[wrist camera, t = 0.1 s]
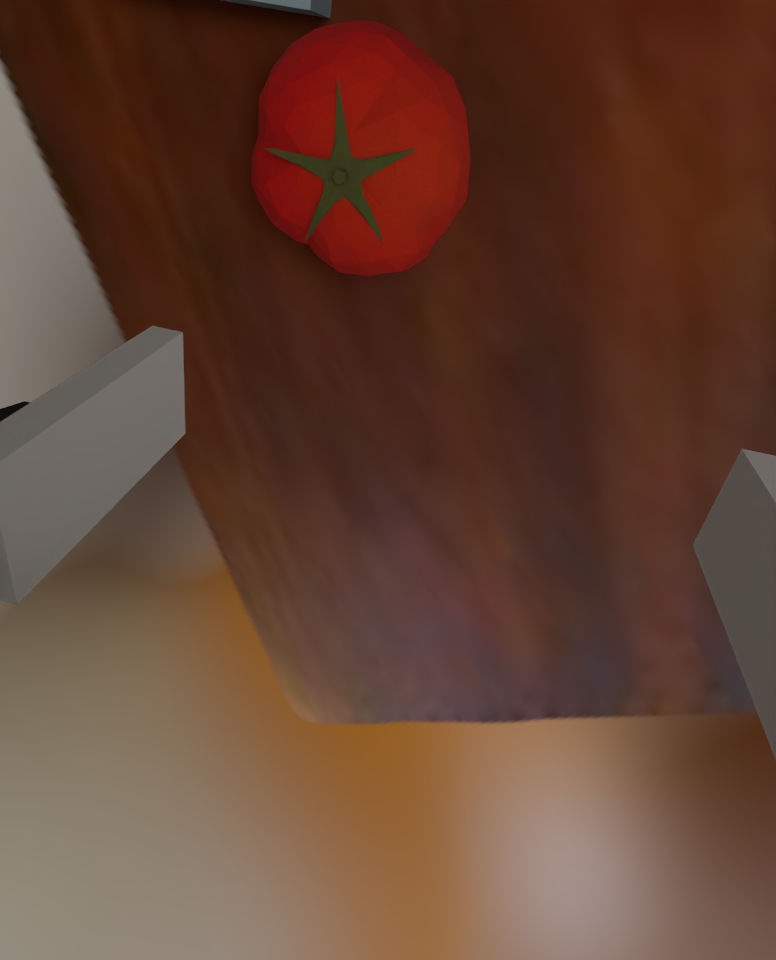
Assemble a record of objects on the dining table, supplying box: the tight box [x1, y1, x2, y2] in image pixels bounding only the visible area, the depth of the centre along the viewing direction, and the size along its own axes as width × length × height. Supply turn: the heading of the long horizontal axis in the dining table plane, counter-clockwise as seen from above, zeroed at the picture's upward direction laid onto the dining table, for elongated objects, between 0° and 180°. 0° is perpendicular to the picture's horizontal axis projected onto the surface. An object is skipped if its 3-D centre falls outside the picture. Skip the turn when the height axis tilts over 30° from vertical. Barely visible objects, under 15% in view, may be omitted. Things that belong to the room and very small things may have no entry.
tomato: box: [251, 20, 471, 276], centre depth 33 cm, size 12×12×10 cm
